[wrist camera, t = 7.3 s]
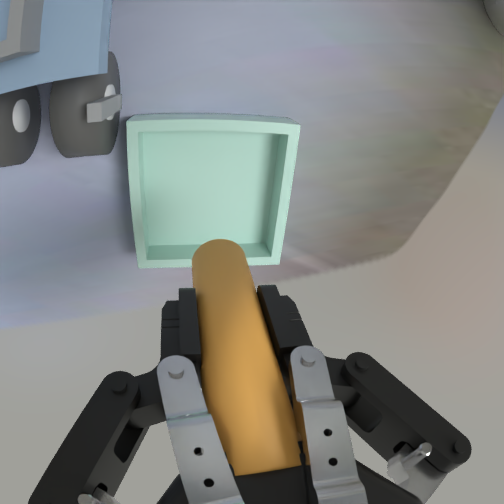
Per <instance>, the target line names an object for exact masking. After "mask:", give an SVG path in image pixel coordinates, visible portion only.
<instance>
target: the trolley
mask: <svg viewBox="0 0 504 504" xmlns="http://www.w3.org/2000/svg"><path fill="white" fill-rule="evenodd" d="M112 1H113V0H0V168H1V167H6V166H12V165H18V164H22V163H24V162H26V161H27V160H28V159H29V158H30V156H31V155H32V153H33V151H34V149H35V146H36V143H37V140H38V136H39V131H40V122H41V105H40V97H39V92H38V88H37V85H38V84H43V83H48V82H53V83H52V88H51V93H50V105H49V113H50V125H51V131H52V135H53V139H54V142H55V144H56V146H57V148H58V150H59V152H60V153H61V154H62V155H63V156H64V157H66V158H72V157H83V156H94V155H106V154H109V153H110V152H111V151H112V149H113V147H114V144H115V141H116V137H117V132H118V125H119V115H120V109H122V94H120V78H119V70H118V65H117V61H116V58H115V56H114V54H113V53H112V52H110V51H109V52H108V47H109V32H110V20H111V10H112Z"/></svg>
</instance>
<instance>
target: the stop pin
mask: <svg viewBox="0 0 504 504" xmlns="http://www.w3.org/2000/svg"><path fill="white" fill-rule="evenodd" d="M192 276H193V288H195V290H196V303H197V315H198V327H199V338H200V348H201V365H202V366H201V369H200V377H201V386H202V394H203V397H204V400H205V404H206V407H207V410H208V412H210V414H211V416H212V418H213V421H214V424H215V427H216V430H217V433H218V436H219V439H220V442H221V445H222V447H223V450H224V452H226V455H227V461H228V464H231V465H232V467H233V469H234V474H235V476H239V475H247V474H255V473H261V472H268V471H274V470H279V469H285V468H290V467H295V466H300V465H302V464H301V461H300V456H299V453H301V452H300V448H299V445H298V441H302V438H301V435H300V433H298V432H297V428H296V423H295V418H294V414H293V409H292V406H291V403H290V400H289V396H288V393H287V390H286V387H285V384H284V380H283V377H282V374H281V371H280V367H279V364H278V361H277V358H276V354H275V351H274V348H273V345H272V341H271V338H270V335H269V332H268V328H267V325H266V322H265V319H264V315H263V312H262V309H261V306H260V302H259V299H258V296H257V292H256V289H255V286H254V283H253V279H252V276H251V273H250V269H249V266H248V263H247V259H246V256H245V253H244V251H243V249H242V248H241V247H240V246H239V245H238V244H237V243H235V242H233V241H231V240H227V239H214V240H210V241H208V242H206V243H204V244H202V245H201V246H200V247H199V248H198V249H197V250H196V251H195V253H194V255H193V258H192Z"/></svg>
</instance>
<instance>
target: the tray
mask: <svg viewBox="0 0 504 504" xmlns="http://www.w3.org/2000/svg"><path fill="white" fill-rule="evenodd" d="M300 126H301V125H300V124H298V123H297V122H295V121H293V120H291V119H290V118H284V117H273V116H260V115H243V114H218V113H166V114H141V115H133V116H132V117H131V118H130V119H129V120H128V121H126V128H127V157H128V175H129V189H130V202H131V212H132V222H133V231H134V240H135V248H136V256H137V263H138V268H173V267H192V258H193V255H194V253H195V251H196V250H197V249H198V248H199V247H200V246H201V245H202V244H204V243H206V242H208V241H210V240H214V239H227V240H231V241H233V242H235V243H237V244H238V245H239V246H240V247H241V248H242V249H243V251H244V253H245V256H246V259H247V263H248V265H273V264H279V262H280V256H281V250H282V244H283V238H284V232H285V226H286V220H287V214H288V207H289V201H290V195H291V188H292V182H293V175H294V168H295V161H296V155H297V148H298V141H299V134H300Z"/></svg>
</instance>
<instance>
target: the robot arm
mask: <svg viewBox="0 0 504 504" xmlns="http://www.w3.org/2000/svg"><path fill="white" fill-rule="evenodd" d="M483 2H484V6H485V9H486V11H487V14H488V16H489V18H490V20H491V22H492V24H493V25H494V27H495V28H496V29H497V31H498V32H499V33H500V34H501V35H502V36H504V0H483ZM257 296H258V299H259V302H260V306H261V309H262V312H263V315H264V319H265V322H266V325H267V328H268V332H269V335H270V338H271V341H272V345H273V348H274V351H275V354H276V358H277V361H278V364H279V367H280V371H281V374H282V377H283V380H284V384H285V387H286V390H287V393H288V396H289V400H290V403H291V406H292V409H293V414H294V418H295V423H296V428H297V432H298V433H300V435H301V438H302V441H298V445H299V448H300V452H301V453H299V456H300V461H301V464H302V465H300V466H295V467H290V468H285V469H279V470H274V471H268V472H261V473H255V474H247V475H239V476H235V474H234V469H233V467H232V465H231V464H228V461H227V455H226V452H224V450H223V447H222V445H221V442H220V439H219V436H218V433H217V430H216V427H215V424H214V421H213V418H212V416H211V414H210V412H208V410H207V407H206V404H205V400H204V397H203V394H202V391H201V388H202V386H201V377H200V369H201V366H202V365H201V348H200V338H199V327H198V315H197V303H196V290H195V288H179V300H177V301H167V302H166V303H165V305H164V307H163V308H162V323H161V358H160V362H159V364H158V365H157V366H156V367H155V368H154V369H153V370H152V371H150V372H148V373H145V374H142V375H139V376H135V377H134V376H133V375H131V374H130V373H128V372H123V371H116V372H113V373H111V374H109V375H107V376H106V377H105V378H104V379H103V381H102V383H101V384H100V385H99V387H98V389H97V390H96V391H95V393H94V394H93V396H92V398H91V399H90V401H89V402H88V404H87V405H86V407H85V408H84V410H83V411H82V413H81V414H80V416H79V418H78V419H77V421H76V422H75V424H74V425H73V427H72V429H71V430H70V432H69V433H68V435H67V437H66V438H65V440H64V441H63V443H62V445H61V446H60V448H59V450H58V451H57V453H56V454H55V456H54V458H53V459H52V461H51V463H50V464H49V466H48V468H47V470H46V471H45V473H44V474H43V476H42V478H41V480H40V481H39V483H38V485H37V487H36V488H35V490H34V492H33V493H32V495H31V497H30V499H29V502H28V504H120V503H119V502H118V501H117V500H116V499H115V498H114V495H115V493H116V491H117V489H118V487H119V485H120V484H121V482H122V480H123V478H124V476H125V474H126V472H127V470H128V468H129V466H130V464H131V462H132V460H133V458H134V456H135V454H136V452H137V450H138V448H139V446H140V444H141V442H142V440H143V439H144V436H145V435H146V433H147V431H148V429H149V427H150V426H151V425H154V424H157V423H160V422H163V421H167V426H168V430H169V434H170V438H171V442H172V446H173V450H174V454H175V458H176V461H177V465H178V469H179V472H180V474H179V475H178V476H177V477H176V478H175V479H174V481H173V482H172V484H171V485H170V486H169V488H168V489H167V490H166V492H165V493H164V494H163V496H162V497H161V499H160V500H159V501H158V502H157V504H425V503H426V502H427V500H428V499H429V498H430V497H431V495H432V494H433V493H434V491H435V490H436V489H437V487H438V486H439V485H440V483H441V482H442V481H443V479H444V478H445V476H446V475H447V474H448V473H449V472H451V471H452V470H454V469H455V468H457V467H458V466H460V465H461V464H463V463H464V462H466V461H467V460H468V459H469V457H470V455H471V445H470V442H469V440H468V439H467V438H466V436H464V435H463V434H462V433H461V432H460V431H458V430H457V429H456V428H455V427H454V426H452V425H451V424H450V423H449V422H448V421H447V420H445V419H444V418H443V417H442V416H441V415H440V414H438V413H437V412H436V411H435V410H433V409H432V408H431V407H430V406H429V405H428V404H427V403H425V402H424V401H423V400H422V399H420V398H419V397H418V396H417V395H416V394H415V393H413V392H412V391H411V390H410V389H409V388H408V387H406V386H405V385H404V384H403V383H402V382H401V381H399V380H398V379H397V378H396V377H395V376H393V375H392V374H391V373H390V372H389V371H387V370H386V369H385V368H384V367H383V366H382V365H380V364H379V363H378V362H377V361H376V360H375V359H373V358H372V357H371V356H370V355H368V354H365V353H362V352H355V353H352V354H350V355H349V356H348V357H347V358H346V360H344V359H336V358H329V357H326V356H324V355H323V353H322V352H321V351H320V350H319V349H317V348H315V347H313V345H312V342H311V340H310V338H309V335H308V333H307V330H306V328H305V326H304V323H303V321H302V320H301V316H300V314H299V312H298V309H297V307H296V304H295V302H293V301H292V300H291V299H290V298H289V297H288V296H287V295H286V296H280V295H279V292H278V290H277V287H276V285H259V286H258V288H257ZM348 426H349V427H350V428H352V429H353V430H354V431H355V432H356V433H357V434H358V435H359V436H360V437H361V438H362V439H363V440H365V442H367V443H368V444H369V445H370V446H371V447H372V448H373V449H374V450H375V451H376V452H377V453H379V454H380V455H381V456H382V457H383V458H384V459H385V460H386V461H387V462H388V465H387V466H388V467H387V468H388V476H389V477H391V478H393V479H394V481H395V484H394V483H393V482H391V481H390V480H388V479H386V478H384V477H383V476H381V475H379V474H378V473H376V472H374V471H373V470H371V469H370V468H368V467H366V466H365V465H363V464H362V463H360V462H359V461H357V460H355V458H354V453H353V448H352V443H351V439H350V434H349V430H348Z"/></svg>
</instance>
